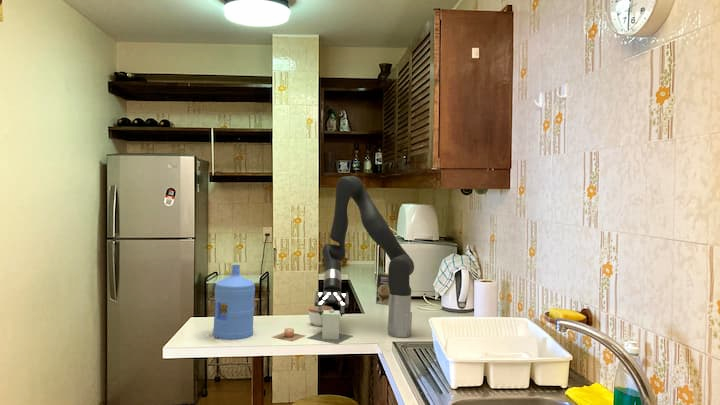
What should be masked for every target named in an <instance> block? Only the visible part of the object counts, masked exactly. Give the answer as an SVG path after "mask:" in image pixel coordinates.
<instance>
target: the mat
mask: <svg viewBox="0 0 720 405" xmlns="http://www.w3.org/2000/svg"><path fill="white" fill-rule="evenodd" d="M353 337H354V335H352V334H351V335H350V334H344V333H340V332H339V340H337V339H322V331H320V332H318V333H315V334H314V335H310V336H308V337H307V338H306V339H308V340H314V341H319V342H323V343H328V344H333V345H339V344H340V343H342V342H344V341H347V340H349V339H351V338H353Z"/></svg>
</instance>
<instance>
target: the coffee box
mask: <svg viewBox="0 0 720 405" xmlns="http://www.w3.org/2000/svg"><path fill="white" fill-rule="evenodd" d="M376 275H377V277H376V278H377V279H376V281H377V282H376V296H375V298H376V300H375V304H379V305H386V306H387V305H388V306H389V286H388V273H382V272H380V273H377V274H376Z"/></svg>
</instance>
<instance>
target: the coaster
mask: <svg viewBox="0 0 720 405" xmlns="http://www.w3.org/2000/svg"><path fill="white" fill-rule="evenodd" d="M305 337H306V335H304V334H299V333H295V332H294V335H293V336H292V337H286V336H285V335H284V332H281V333H279V334H276V335H273V336H271V338H272V339H277V340H283V341H288V342H294V341H297V340H299V339H302V338H305Z"/></svg>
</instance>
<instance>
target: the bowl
mask: <svg viewBox="0 0 720 405" xmlns="http://www.w3.org/2000/svg"><path fill="white" fill-rule="evenodd" d="M283 333H284V335H285V336H286V337H292V336H293V335H294V333H295V329H294V328H290V327H287V328H284V330H283Z"/></svg>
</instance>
